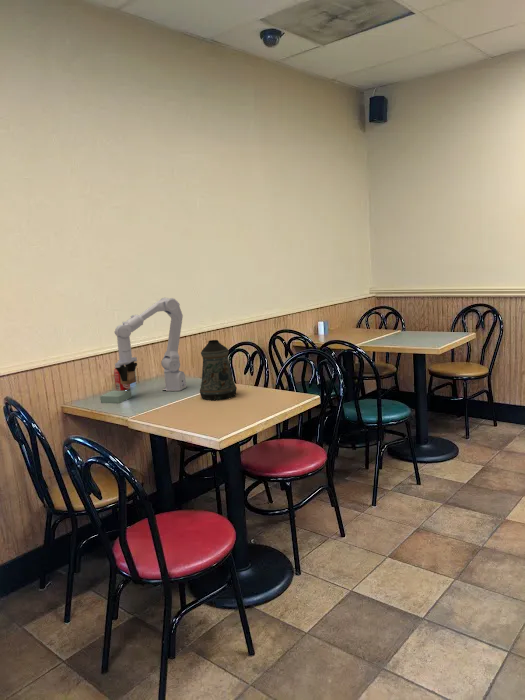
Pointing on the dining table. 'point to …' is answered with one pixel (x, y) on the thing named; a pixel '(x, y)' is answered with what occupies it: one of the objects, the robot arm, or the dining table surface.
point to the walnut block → (129, 378)
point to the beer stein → (216, 373)
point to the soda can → (118, 383)
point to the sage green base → (115, 396)
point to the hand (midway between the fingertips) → (128, 379)
